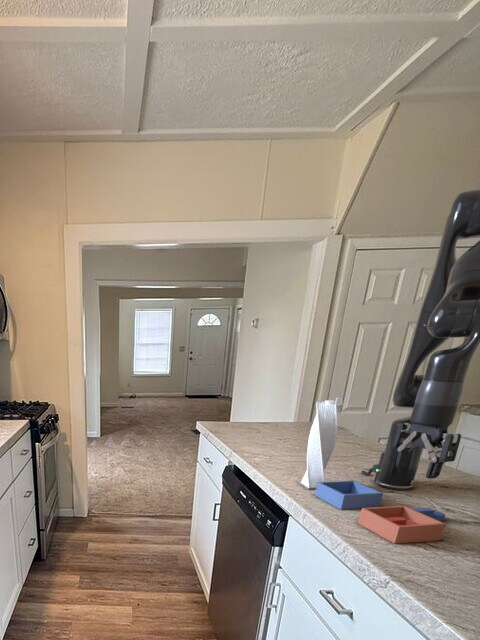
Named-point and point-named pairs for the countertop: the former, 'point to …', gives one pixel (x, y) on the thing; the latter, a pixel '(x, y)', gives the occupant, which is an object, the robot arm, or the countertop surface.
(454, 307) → the robot arm
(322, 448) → the skyscraper
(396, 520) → the red stepped block
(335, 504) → the blue bin
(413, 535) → the terracotta bin
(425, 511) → the blue stepped block
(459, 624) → the countertop surface
